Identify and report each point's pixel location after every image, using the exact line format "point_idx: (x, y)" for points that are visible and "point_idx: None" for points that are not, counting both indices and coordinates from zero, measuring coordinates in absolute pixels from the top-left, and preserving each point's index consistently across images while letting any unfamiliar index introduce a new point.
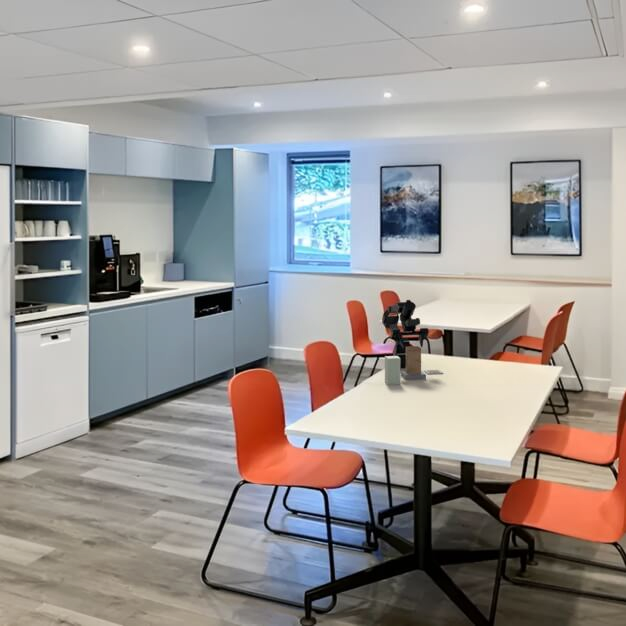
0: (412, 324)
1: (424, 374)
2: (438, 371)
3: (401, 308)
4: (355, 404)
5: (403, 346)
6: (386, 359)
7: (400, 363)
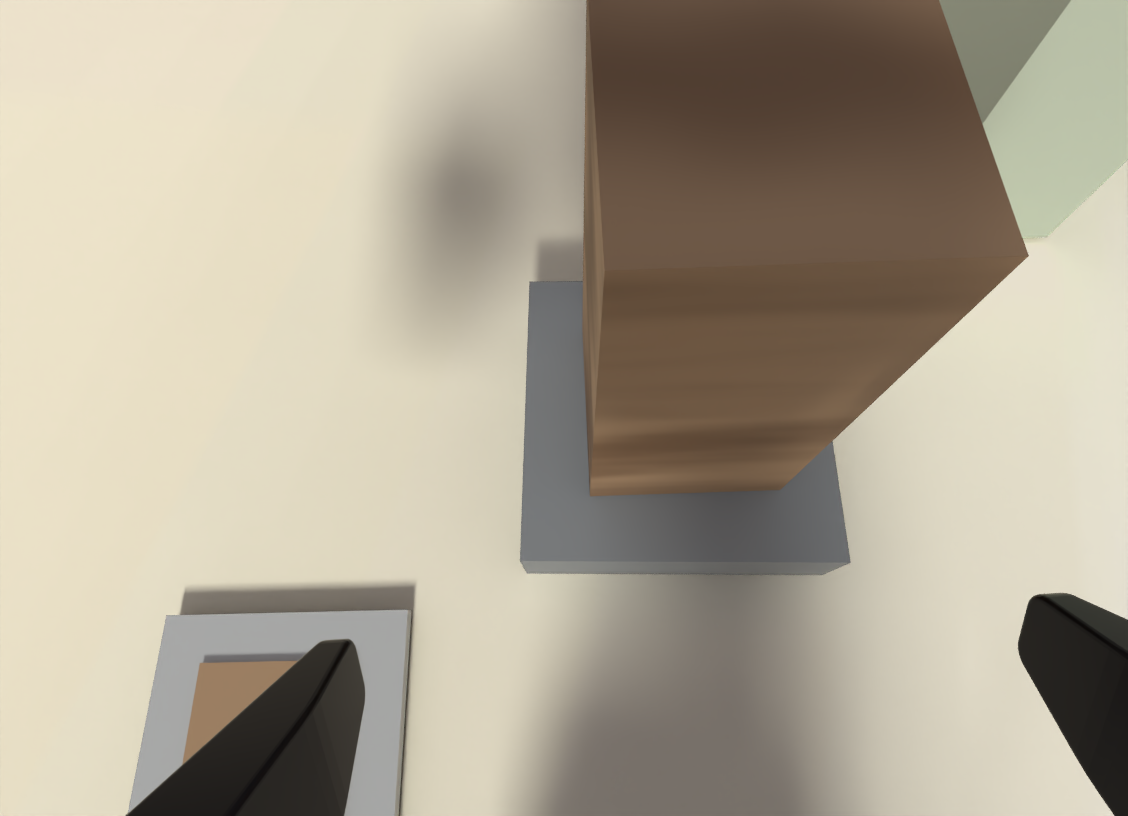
0: None
1: (548, 284)
2: (199, 707)
3: None
4: None
5: (1093, 618)
6: None
7: None
